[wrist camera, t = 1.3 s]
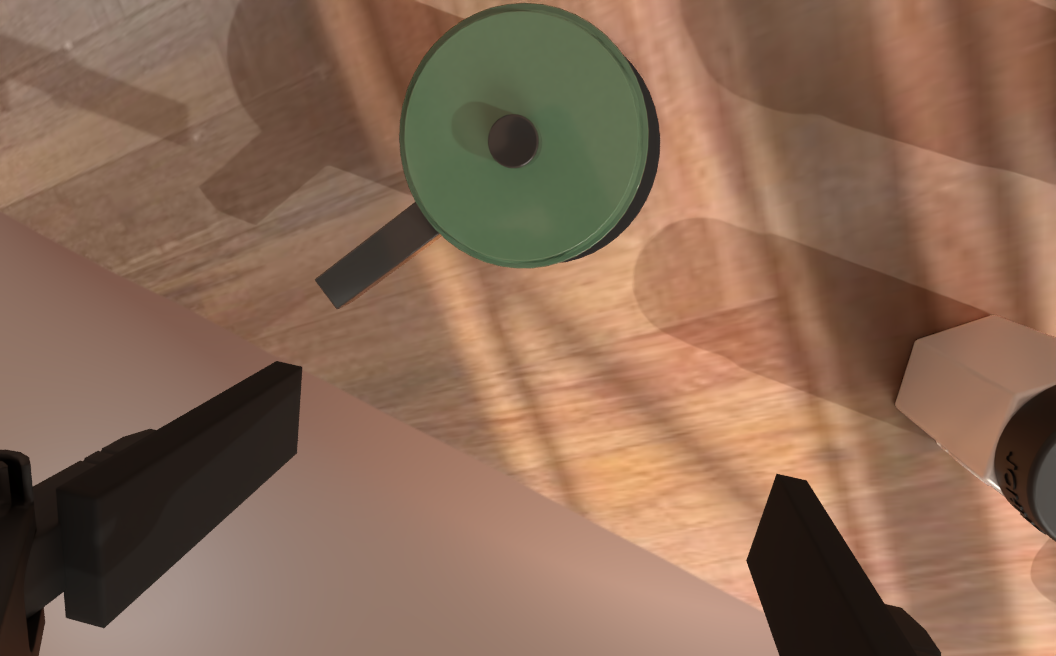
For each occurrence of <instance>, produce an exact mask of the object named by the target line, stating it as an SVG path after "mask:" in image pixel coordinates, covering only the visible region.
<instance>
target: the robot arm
mask: <svg viewBox="0 0 1056 656" xmlns="http://www.w3.org/2000/svg"><path fill="white" fill-rule="evenodd" d="M301 379H302V367H301V366H296V365H292V364H287V363H283V362H278V361H276V362H274V363H272V364H271V365H269V366H267V367H265V368H264V369H262V370H260V371H259V372H257V373H255V374H254V375H252V376H250V377H248V378H246V379H245V380H243V381H241V382H239V383H238V384H236V385H234V386H233V387H231V388H229V389H228V390H226V391H224V392H222V393H220V394H219V395H217V396H215V397H213V398H212V399H210V400H209V401H207V402H205V403H203V404H201V405H200V406H198V407H196V408H194V409H193V410H191V411H189V412H187V413H186V414H184V415H182V416H180V417H179V418H177V419H175V420H173V421H172V422H170V423H168V424H167V425H165V426H163V427H161V428H160V429H158V430H153V429H148V430H144V431H141V432H138V433H135V434H131V435H128V436H125V437H122V438H120V439H119V440H117V441H115V442H113V443H111V444H110V445H108V446H106V447H104V448H102V450H101V452H100V451H97V452H95V453H93V454H91V455H90V456H88V457H86V458H85V459H84V461H79V462H77V463H75V464H73V465H71V466H70V467H68V468H66V469H64V470H62V471H61V472H59V473H57V474H55V475H53V476H52V477H50V478H48V479H46V480H44V481H42V482H41V483H39V484H37V485H35V486H33V487H32V476H31V465H30V460H29V457H28V456H26V455H24V454H22V453H21V452H16V451H10V450H0V656H39V651H40V645H41V640H42V635H43V630H44V625H45V616H44V606H45V605H47V604H48V603H49V602H51V601H52V600H54V599H55V598H56V597H57V596H58V595H60V594H61V593H63V592H64V600H65V611H66V618H69V619H72V620H76V621H80V622H83V623H87V624H91V625H94V626H98V627H102V628H105V627H106V626H107V625H108V624H109V623H110V622H111V621H112V620H114V619H115V618H116V617H117V616H118V615H119V614H120V613H121V612H122V611H124V610H125V609H126V608H127V607H128V606H129V605H130V604H131V603H132V602H133V601H135V599H137V598H138V597H139V596H140V595H141V594H142V593H143V592H144V591H145V590H146V589H148V588H149V587H150V586H151V585H152V584H153V583H154V582H155V581H157V580H158V579H159V578H160V577H161V576H162V575H163V574H164V573H165V572H166V571H168V570H169V569H170V568H171V567H172V566H173V565H174V564H175V563H176V562H177V561H179V560H180V559H181V558H182V557H183V556H184V555H185V554H186V553H187V552H188V551H190V550H191V549H192V548H193V547H194V546H195V545H196V544H197V543H198V542H200V541H201V540H202V539H203V538H204V537H205V536H206V535H207V534H208V533H209V532H211V531H212V530H213V529H214V528H215V527H216V526H217V525H218V524H219V523H220V522H222V521H223V520H224V519H225V518H226V517H227V516H228V515H229V514H230V513H232V512H233V511H234V510H235V509H236V508H237V507H238V506H239V505H240V504H241V503H243V502H244V501H245V500H246V499H247V498H248V497H249V496H250V495H251V494H252V493H253V492H255V491H256V490H257V489H258V488H259V487H260V486H261V485H262V484H263V483H265V482H266V481H267V480H268V479H269V478H270V477H271V476H272V475H273V474H274V473H275V472H277V471H278V470H279V469H280V468H281V467H282V466H283V465H284V464H285V463H287V462H288V461H289V460H290V459H291V458H292V457H293V456H294V455H295V454H297V441H298V426H299V410H300V395H301ZM746 561H747V564H748V567H749V570H750V573H751V575H752V578H753V581H754V584H755V587H756V590H757V593H758V595H759V598H760V601H761V604H762V607H763V610H764V613H765V616H766V618H767V621H768V624H769V627H770V630H771V633H772V636H773V638H774V641H775V644H776V647H777V650H778V652H779V656H941V652H940V650H939V649H938V648H937V646H936V645H935V643H934V642H933V640H932V639H931V637H930V636H929V634H928V633H927V631H926V630H925V629H924V628H923V627H922V626H921V625H920V624H918V623H917V622H916V621H915V620H914V619H913V618H912V617H911V616H910V615H909V614H908V613H907V612H906V611H904V610H903V609H902V608H900V607H896V606H891V605H887V604H884V602H883V601H882V599H881V597H880V596H879V594H878V593H877V591H876V590H875V588H874V586H873V585H872V583H871V582H870V580H869V578H868V577H867V575H866V574H865V572H864V571H863V569H862V567H861V566H860V564H859V563H858V561H857V559H856V558H855V556H854V555H853V553H852V552H851V550H850V548H849V547H848V545H847V544H846V542H845V541H844V539H843V537H842V536H841V534H840V533H839V531H838V529H837V528H836V526H835V525H834V523H833V522H832V520H831V518H830V517H829V515H828V514H827V512H826V510H825V509H824V507H823V506H822V504H821V503H820V501H819V499H818V498H817V496H816V495H815V493H814V491H813V490H812V488H811V487H810V485H809V484H808V482H807V480H802V479H798V478H793V477H789V476H784V475H780V474H776V477H775V480H774V483H773V486H772V489H771V492H770V494H769V497H768V500H767V503H766V506H765V509H764V512H763V514H762V517H761V520H760V523H759V526H758V529H757V532H756V535H755V537H754V540H753V543H752V546H751V549H750V552H749V555H748V557H747V560H746Z"/></svg>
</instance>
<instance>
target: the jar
mask: <svg viewBox="0 0 1056 656" xmlns="http://www.w3.org/2000/svg"><path fill="white" fill-rule="evenodd" d="M895 407H896V408H897V409H898V410H899V411H901V412H902V413H903V414H904V415H905V416H907V417H908V418H909V419H910V420H911V421H913V422H914V423H915V424H916V425H917V426H919V427H920V428H921V429H922V430H923V431H925V432H926V433H927V434H928V435H929V436H931V437H932V438H933V439H934V440H935V441H936V444H938V445H939V446H940V447H941V448H942V449H943V450H944V451H946V452H947V453H948V454H950V456H951V457H952V458H954V459H955V460H956V461H957V462H958V463H960V464H961V465H962V466H963V467H965V468H966V469H967V470H968V471H970V472H971V473H972V474H973V475H975V476H976V477H977V478H979V479H980V480H981V481H982V482H984V483H985V484H986V485H988V486H991V487H993V488H994V489H995V490H997V491H998V492H999V493H1000V494H1002V495H1003V496H1004V497H1006V499H1007V500H1008V501H1009V502H1010V504H1011V505H1012V506H1013V507H1014V508H1016V509H1017V510H1018V511H1019V512H1020V514H1021V515H1022V516H1023V517H1024V518H1025V519H1026V520H1027V521H1028V522H1030V523H1031V524H1032V525H1033V526H1034V527H1036V528H1037V529H1038V530H1039V531H1041V532H1042V533H1044V534H1045V535H1046V534H1047V535H1048V536H1049V537H1050V538H1052V539H1053V540H1054V541H1056V337H1054V336H1051V335H1048V334H1046V333H1043V332H1040V331H1038V330H1035V329H1032V328H1030V327H1027V326H1024V325H1022V324H1019V323H1016V322H1014V321H1011V320H1008V319H1006V318H1003V317H1000V316H998V315H990V316H987V317H984V318H981V319H978V320H975V321H972V322H969V323H966V324H963V325H959V326H956V327H953V328H950V329H947V330H944V331H941V332H938V333H935V334H932V335H929V336H926V337H923V338H920V339H917V340H916V341H915V342H914V346H913V349H912V352H911V355H910V358H909V361H908V365H907V368H906V371H905V374H904V377H903V380H902V384H901V387H900V390H899V393H898V396H897V399H896V402H895Z"/></svg>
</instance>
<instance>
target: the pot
mask: <svg viewBox="0 0 1056 656" xmlns="http://www.w3.org/2000/svg"><path fill="white" fill-rule="evenodd" d="M648 136H649V129H648V118H647V111H646V106H645V102H644V98H643V94H642V91H641V89H640V86H639V83H638V80H637V78H636V76H635V74H634V72H633V70H632V68H631V67H630V65H629V63H628V61H627V60H626V58H625V57H624V56H623V54H622V53H621V52H620V50H619V49H618V47H617V46H616V45H615V44H614V43H613V42H612V41H611V40H610V39H609V38H608V37H607V36H606V35H605V34H604V33H603V32H601V31H600V30H599V29H598V28H596V27H595V26H594V25H592V24H591V23H589V22H588V21H586V20H584V19H583V18H581V17H579V16H577V15H575V14H573V13H570V12H568V11H565V10H563V9H560V8H556V7H552V6H548V5H543V4H533V3H516V4H506V5H501V6H497V7H492V8H489V9H486V10H484V11H481V12H478V13H476V14H474V15H472V16H470V17H468V18H466V19H465V20H463V21H461V22H459V23H458V24H457V25H455V26H454V27H453V28H451V29H450V30H449V31H447V32H446V33H445V34H444V35H443V36H442V37H441V38H440V39H439V40H438V41H437V42H436V43H435V44H434V45H433V46H432V47H431V49H430V50H429V51H428V52H427V54H426V55H425V56H424V58H423V59H422V61H421V62H420V64H419V66H418V68H417V69H416V71H415V73H414V75H413V77H412V79H411V82H410V84H409V86H408V89H407V92H406V96H405V99H404V102H403V106H402V113H401V119H400V133H399V142H400V155H401V160H402V165H403V170H404V174H405V177H406V180H407V183H408V186H409V189H410V191H411V193H412V195H413V197H414V200H415V203H413V204H412V205H411V206H409V207H408V208H407V209H405V210H404V211H403V212H402V213H400V214H399V215H398V216H396V217H395V218H394V219H392V220H391V221H390V222H389V223H387V224H386V225H385V226H383V227H382V228H381V229H379V230H378V231H377V232H376V233H374V234H373V235H372V236H370V237H369V238H368V239H366V240H365V241H364V242H363V243H361V244H360V245H359V246H357V247H356V248H355V249H354V250H352V251H351V252H350V253H348V254H347V255H346V256H344V257H343V258H342V259H341V260H339V261H338V262H337V263H335V264H334V265H333V266H331V267H330V268H329V269H328V270H326V271H325V272H324V273H322V274H321V275H320V276H318V277H317V278H316V279H315V281H316V282H317V284H318V285H319V286H320V288H321V289H322V290H323V292H324V293H325V294H326V296H327V297H328V298H329V300H330V301H331V302H332V304H333V305H334V306H335V308H336V309H339V308H341V307H343V306H345V305H347V304H349V303H351V302H353V301H355V300H356V299H357V298H359V297H360V296H361V295H363V294H364V293H365V292H367V291H368V290H369V289H371V288H372V287H374V286H375V285H376V284H378V283H379V282H380V281H382V280H383V279H384V278H386V277H387V276H388V275H390V274H391V273H393V272H394V271H395V270H397V269H398V268H399V267H401V266H402V265H403V264H405V263H406V262H407V261H409V260H410V259H412V258H413V257H414V256H416V255H417V254H418V253H420V252H421V251H422V250H424V249H425V248H426V247H428V246H429V245H431V244H432V243H433V242H435V241H436V240H437V239H439V238H440V237H441V236H443V237H444V238H445V239H446V240H447V241H448V242H450V243H451V244H452V245H454V246H455V247H456V248H458V249H459V250H461V251H463V252H465V253H466V254H468V255H470V256H472V257H474V258H476V259H479V260H481V261H484V262H486V263H490V264H494V265H498V266H502V267H510V268H537V267H545V266H549V265H553V264H557V263H561V262H563V261H566V260H568V259H571V258H573V257H575V256H577V255H579V254H581V253H582V252H584V251H586V250H588V249H589V248H591V247H592V246H593V245H595V244H596V243H597V242H599V241H600V240H601V239H603V238H604V237H605V236H606V235H607V234H608V233H609V232H610V231H611V230H612V229H613V228H614V227H615V225H616V224H617V223H618V222H619V220H620V219H621V218H622V216H623V215H624V214H625V212H626V211H627V209H628V207H629V206H630V204H631V202H632V201H633V199H634V197H635V194H636V192H637V190H638V187H639V185H640V183H641V179H642V176H643V172H644V169H645V165H646V159H647V152H648Z"/></svg>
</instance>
